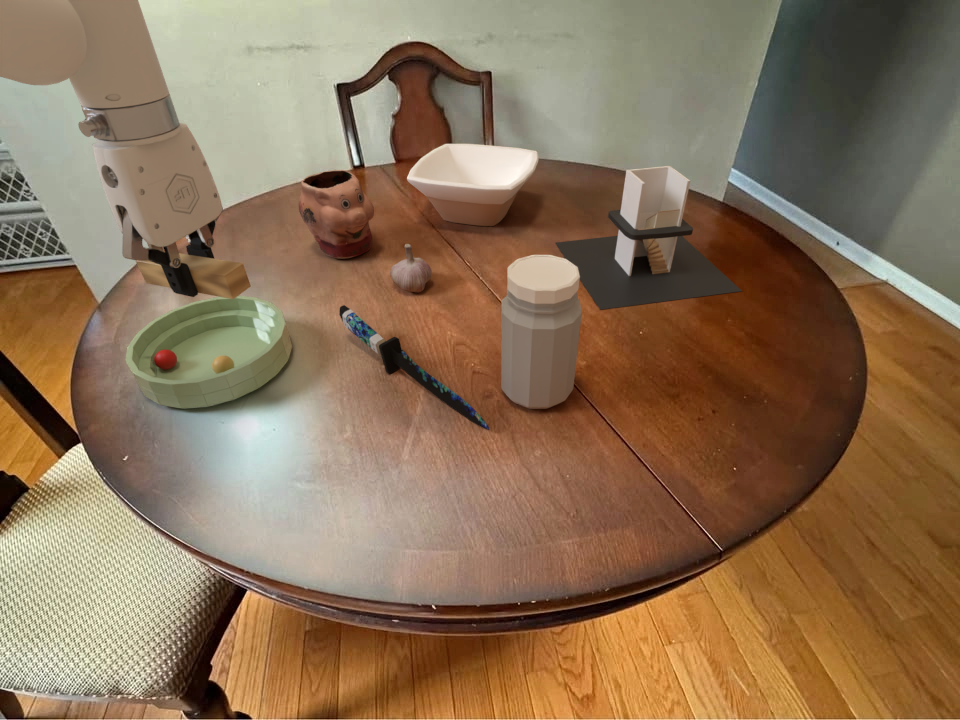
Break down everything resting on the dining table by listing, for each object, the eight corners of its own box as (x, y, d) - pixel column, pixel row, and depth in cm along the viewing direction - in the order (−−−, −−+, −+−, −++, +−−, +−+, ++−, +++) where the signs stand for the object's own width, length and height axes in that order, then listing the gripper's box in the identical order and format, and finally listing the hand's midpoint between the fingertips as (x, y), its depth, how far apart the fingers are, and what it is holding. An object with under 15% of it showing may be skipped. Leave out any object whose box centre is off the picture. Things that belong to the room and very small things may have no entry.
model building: (600, 309, 89) (613, 213, 79) (554, 242, 108) (560, 157, 98) (742, 291, 93) (772, 196, 82) (674, 229, 111) (692, 145, 101)
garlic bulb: (425, 298, 93) (421, 255, 88) (384, 294, 94) (377, 252, 89) (437, 276, 99) (434, 234, 94) (398, 272, 100) (393, 231, 95)
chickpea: (222, 350, 75) (207, 356, 76) (223, 369, 74) (207, 375, 75) (238, 356, 78) (223, 362, 78) (239, 374, 77) (223, 380, 77)
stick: (251, 286, 64) (243, 262, 62) (233, 299, 61) (224, 275, 59) (165, 271, 68) (155, 249, 66) (145, 283, 65) (134, 260, 64)
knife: (339, 329, 84) (335, 305, 81) (356, 321, 86) (353, 297, 83) (472, 454, 68) (474, 431, 65) (490, 441, 70) (492, 418, 67)
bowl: (517, 244, 108) (518, 191, 101) (401, 229, 114) (395, 178, 107) (544, 197, 125) (547, 149, 119) (442, 187, 131) (439, 141, 125)
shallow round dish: (137, 431, 70) (120, 401, 67) (144, 342, 85) (130, 315, 82) (303, 386, 76) (294, 357, 73) (282, 310, 91) (274, 284, 88)
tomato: (161, 367, 76) (158, 347, 76) (152, 372, 77) (149, 352, 77) (182, 366, 78) (178, 346, 78) (173, 370, 79) (169, 351, 80)
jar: (588, 389, 74) (604, 270, 63) (539, 425, 69) (547, 303, 58) (533, 356, 80) (539, 242, 69) (484, 388, 75) (482, 270, 64)
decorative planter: (285, 242, 110) (267, 172, 102) (336, 222, 117) (323, 155, 109) (347, 274, 100) (332, 200, 91) (398, 250, 107) (389, 179, 98)
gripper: (88, 149, 46) (169, 330, 57) (224, 101, 58) (269, 259, 69) (25, 141, 48) (115, 317, 60) (169, 96, 60) (221, 250, 72)
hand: (197, 284), depth 64 cm, fingers closed on stick, 3 cm apart
